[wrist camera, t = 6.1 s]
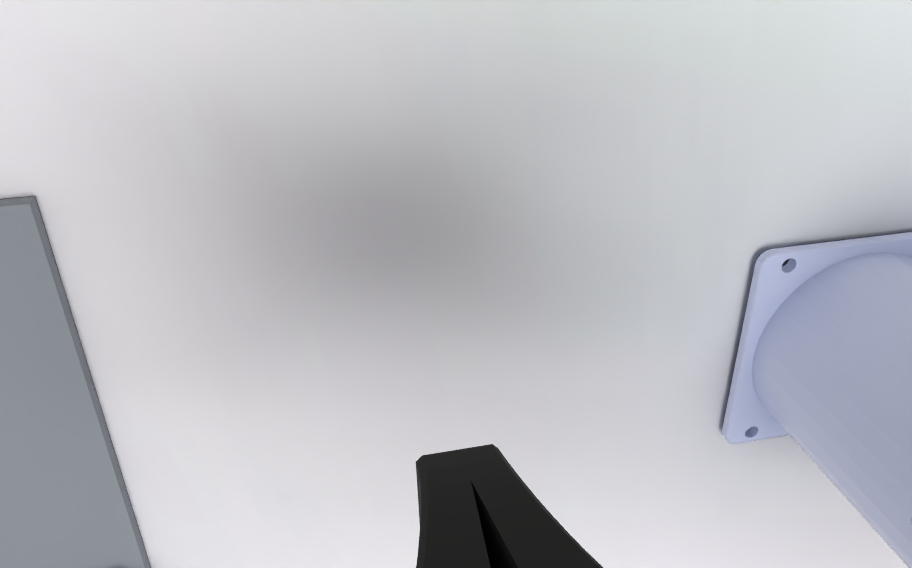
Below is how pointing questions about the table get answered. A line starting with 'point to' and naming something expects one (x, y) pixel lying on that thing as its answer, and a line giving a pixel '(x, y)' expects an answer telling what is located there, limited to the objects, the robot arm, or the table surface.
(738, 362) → the robot arm
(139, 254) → the table surface
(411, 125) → the table surface
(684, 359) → the table surface
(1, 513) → the slate mat
